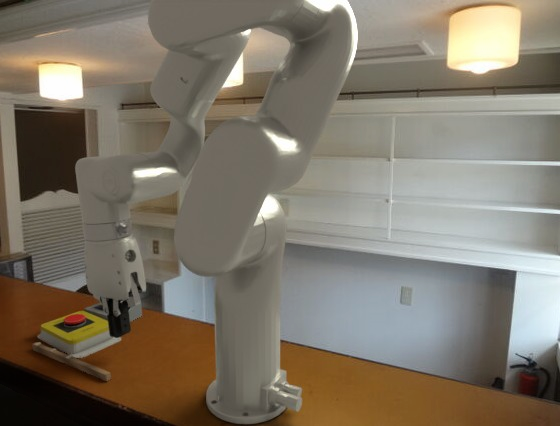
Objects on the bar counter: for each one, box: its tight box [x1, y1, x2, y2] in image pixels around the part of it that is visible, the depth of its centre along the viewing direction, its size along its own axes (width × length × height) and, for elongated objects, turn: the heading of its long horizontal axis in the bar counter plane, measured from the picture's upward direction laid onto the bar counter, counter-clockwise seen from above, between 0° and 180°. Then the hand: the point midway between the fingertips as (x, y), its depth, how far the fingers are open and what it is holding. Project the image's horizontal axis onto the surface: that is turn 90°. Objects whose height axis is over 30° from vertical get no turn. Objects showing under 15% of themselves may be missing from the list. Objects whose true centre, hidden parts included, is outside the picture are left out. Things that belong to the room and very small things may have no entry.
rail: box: [32, 341, 112, 382], centre depth 76 cm, size 20×1×1 cm, turn 60°
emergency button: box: [36, 310, 122, 360], centre depth 85 cm, size 9×4×15 cm
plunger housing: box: [83, 302, 143, 323], centre depth 93 cm, size 8×8×3 cm
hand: (120, 333), depth 77 cm, fingers closed
